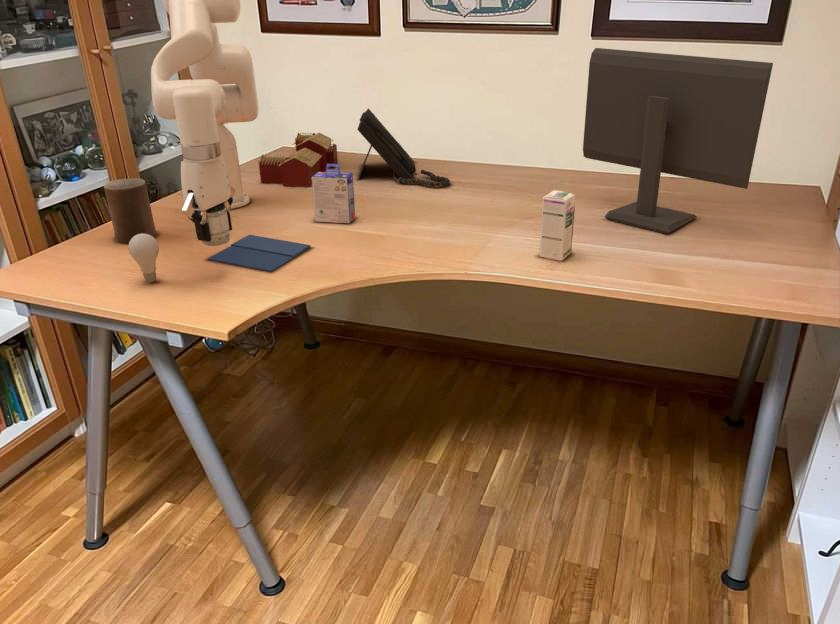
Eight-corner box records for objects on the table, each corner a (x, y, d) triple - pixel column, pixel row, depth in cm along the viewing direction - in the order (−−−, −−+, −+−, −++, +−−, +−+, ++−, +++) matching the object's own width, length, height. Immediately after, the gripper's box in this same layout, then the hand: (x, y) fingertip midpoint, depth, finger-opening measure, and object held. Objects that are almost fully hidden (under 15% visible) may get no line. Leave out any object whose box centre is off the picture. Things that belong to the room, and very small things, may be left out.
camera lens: (204, 236, 156) (198, 201, 152) (233, 235, 156) (228, 201, 152) (198, 247, 150) (192, 211, 146) (228, 246, 151) (222, 210, 147)
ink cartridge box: (356, 217, 190) (353, 163, 183) (350, 224, 185) (347, 169, 178) (321, 215, 192) (316, 161, 185) (314, 222, 187) (309, 167, 180)
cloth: (207, 260, 165) (207, 256, 165) (249, 237, 178) (249, 234, 177) (271, 272, 158) (270, 269, 158) (310, 248, 171) (310, 245, 171)
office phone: (450, 188, 211) (450, 118, 201) (355, 189, 212) (351, 119, 202) (448, 162, 237) (448, 99, 227) (363, 163, 237) (360, 100, 227)
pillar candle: (141, 245, 174) (127, 185, 167) (107, 241, 177) (93, 182, 169) (164, 231, 182) (152, 174, 175) (132, 228, 185) (119, 171, 177)
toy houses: (318, 187, 214) (316, 153, 209) (253, 185, 217) (249, 152, 212) (350, 150, 253) (348, 121, 248) (294, 149, 255) (291, 120, 250)
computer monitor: (746, 230, 178) (785, 59, 158) (719, 248, 167) (757, 67, 148) (593, 195, 204) (610, 44, 184) (562, 209, 193) (576, 51, 174)
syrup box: (562, 261, 161) (567, 199, 154) (538, 256, 164) (542, 195, 157) (571, 253, 166) (577, 192, 159) (547, 248, 168) (552, 189, 161)
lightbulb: (140, 277, 157) (129, 230, 152) (168, 275, 157) (159, 228, 152) (133, 288, 152) (122, 240, 146) (162, 287, 152) (152, 238, 147)
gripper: (214, 140, 152) (227, 220, 161) (156, 159, 138) (173, 246, 147) (243, 143, 149) (253, 224, 158) (186, 163, 135) (202, 251, 144)
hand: (215, 234), depth 152 cm, fingers closed on camera lens, 6 cm apart
